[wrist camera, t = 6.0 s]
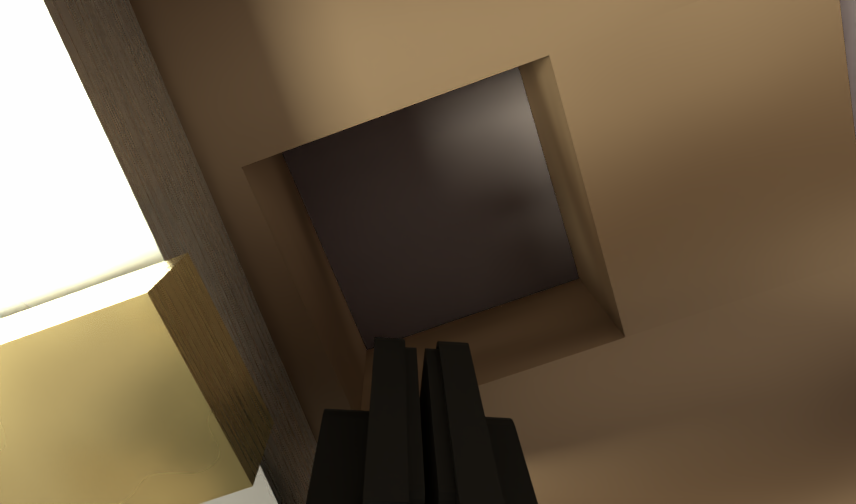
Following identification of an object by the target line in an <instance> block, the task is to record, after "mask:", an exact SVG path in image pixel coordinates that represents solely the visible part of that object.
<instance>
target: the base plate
mask: <svg viewBox="0 0 856 504" xmlns="http://www.w3.org/2000/svg"><path fill="white" fill-rule="evenodd" d="M129 2H130V4H131V7H132V9H133V12H134V14H135V16H136V19H137V21H138V23H139V26H140V28H141V30H142V33H143V35H144V37H145V40H146V42H147V45H148V47H149V49H150V52H151V54H152V56H153V59H154V61H155V63H156V66H157V68H158V71H159V73H160V75H161V78H162V80H163V82H164V85H165V87H166V89H167V92H168V94H169V96H170V99H171V101H172V104H173V106H174V108H175V111H176V113H177V115H178V118H179V120H180V122H181V125H182V127H183V130H184V132H185V134H186V137H187V139H188V141H189V144H190V146H191V148H192V151H193V153H194V155H195V158H196V160H197V163H198V165H199V167H200V170H201V172H202V174H203V177H204V179H205V181H206V184H207V186H208V189H209V191H210V193H211V196H212V198H213V200H214V203H215V205H216V207H217V210H218V212H219V214H220V217H221V219H222V222H223V224H224V226H225V229H226V231H227V233H228V236H229V238H230V240H231V243H232V245H233V248H234V250H235V252H236V255H237V257H238V259H239V262H240V264H241V266H242V269H243V271H244V273H245V276H246V278H247V281H248V283H249V285H250V288H251V290H252V292H253V295H254V297H255V299H256V302H257V304H258V307H259V309H260V311H261V314H262V316H263V318H264V321H265V323H266V325H267V328H268V330H269V332H270V335H271V337H272V340H273V342H274V344H275V347H276V349H277V351H278V354H279V356H280V358H281V361H282V363H283V366H284V368H285V370H286V373H287V375H288V377H289V380H290V382H291V384H292V387H293V389H294V391H295V394H296V396H297V399H298V401H299V403H300V406H301V408H302V410H303V413H304V415H305V417H306V420H307V422H308V425H309V427H310V429H311V432H312V434H313V436H314V439H315V441H316V443H317V442H318V437H319V432H320V426H321V421H322V416H323V412H324V409H343V410H363V411H369V409H370V395H371V381H372V367H373V354H374V348H372V349H369V350H366V347H365V345H364V343H363V340H362V338H361V336H360V333H359V331H358V329H357V326H356V324H355V322H354V320H353V317H352V315H351V313H350V310H349V308H348V306H347V303H346V301H345V299H344V296H343V294H342V292H341V289H340V287H339V285H338V282H337V280H336V278H335V275H334V273H333V271H332V268H331V266H330V264H329V261H328V259H327V257H326V254H325V252H324V250H323V247H322V245H321V243H320V241H319V238H318V236H317V234H316V231H315V229H314V227H313V224H312V222H311V220H310V217H309V215H308V213H307V210H306V208H305V206H304V203H303V201H302V199H301V196H300V194H299V192H298V189H297V187H296V185H295V182H294V180H293V178H292V175H291V173H290V171H289V169H288V166H287V164H286V162H285V159H284V157H283V155H282V152H284V151H287V150H290V149H292V148H295V147H298V146H301V145H303V144H306V143H309V142H312V141H314V140H317V139H320V138H323V137H325V136H328V135H331V134H334V133H336V132H339V131H342V130H345V129H347V128H350V127H353V126H356V125H358V124H361V123H364V122H367V121H369V120H372V119H375V118H378V117H380V116H383V115H386V114H389V113H391V112H394V111H397V110H400V109H402V108H405V107H408V106H411V105H413V104H416V103H419V102H422V101H424V100H427V99H430V98H433V97H435V96H438V95H441V94H444V93H446V92H449V91H452V90H455V89H457V88H460V87H463V86H466V85H468V84H471V83H474V82H477V81H479V80H482V79H485V78H488V77H490V76H493V75H496V74H499V73H501V72H504V71H507V70H510V69H512V68H515V67H518V66H519V70H520V73H521V77H522V80H523V84H524V87H525V91H526V94H527V98H528V101H529V105H530V108H531V112H532V115H533V118H534V122H535V125H536V129H537V132H538V136H539V139H540V143H541V146H542V150H543V153H544V157H545V160H546V164H547V167H548V171H549V174H550V178H551V181H552V185H553V188H554V192H555V195H556V199H557V202H558V205H559V209H560V212H561V216H562V219H563V223H564V226H565V230H566V233H567V237H568V240H569V244H570V247H571V251H572V254H573V258H574V261H575V265H576V268H577V272H578V275H579V279H576V280H573V281H570V282H567V283H564V284H561V285H558V286H555V287H552V288H549V289H547V290H544V291H541V292H538V293H535V294H532V295H529V296H526V297H523V298H520V299H517V300H514V301H511V302H508V303H505V304H502V305H499V306H496V307H493V308H490V309H487V310H484V311H481V312H478V313H475V314H473V315H470V316H467V317H464V318H461V319H458V320H455V321H452V322H449V323H446V324H443V325H440V326H437V327H434V328H431V329H428V330H425V331H422V332H419V333H416V334H413V335H410V336H407V337H404V338H402V339H405V347H413V348H417V363H418V380H419V397H420V390H421V380H422V370H423V361H424V352H425V348H430V349H436V345H437V341H447V342H464V343H468V344H469V347H470V352H471V356H472V361H473V365H474V369H475V374H476V378H477V383H478V387H479V392H480V396H481V401H482V405H483V410H484V414H485V417H501V418H511V419H512V420H513V422H514V424H515V427H516V431H517V434H518V437H519V441H520V444H521V448H522V451H523V454H524V458H525V461H526V464H527V468H528V471H529V475H530V478H531V481H532V485H533V488H534V492H535V495H536V498H537V502H538V504H856V138H855V130H854V121H853V112H852V104H851V95H850V86H849V78H848V69H847V60H846V52H845V43H844V35H843V26H842V17H841V9H840V0H129Z"/></svg>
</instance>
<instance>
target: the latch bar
mask: <svg viewBox="0 0 856 504" xmlns="http://www.w3.org/2000/svg"><path fill="white" fill-rule="evenodd" d="M185 253H188V254H189V255H190V257H191V259H192V261H193V263H194V265H195V267H196V269H197V271H198V273H199V275H200V277H201V279H202V281H203V283H204V285H205V287H206V289H207V291H208V293H209V295H210V297H211V299H212V301H213V303H214V305H215V307H216V308H217V310H218V312H219V314H220V316H221V318H222V320H223V322H224V324H225V326H226V328H227V330H228V332H229V334H230V336H231V338H232V340H233V342H234V344H235V346H236V348H237V350H238V352H239V354H240V356H241V358H242V360H243V361H244V363H245V365H246V367H247V369H248V371H249V373H250V375H251V377H252V379H253V381H254V383H255V385H256V387H257V389H258V391H259V393H260V395H261V397H262V399H263V401H264V403H265V405H266V407H267V409H268V411H269V412H270V414H271V416H272V418H273V420H274V424H273V427H272V430H271V433H270V436H269V439H268V442H267V445H266V448H265V451H264V454H263V457H262V460H261V463H260V466H259V469H258V472H257V475H256V478H255V481H254V484H253V486H252V487H249V488H246V489H243V490H240V491H237V492H234V493H231V494H228V495H225V496H222V497H219V498H216V499H213V500H210V501H207V502H204V503H200V504H306V499H307V494H308V489H309V484H310V478H311V473H312V468H313V463H314V458H315V452H316V447H317V443H316V441H315V439H314V436H313V434H312V432H311V429H310V427H309V425H308V422H307V420H306V417H305V415H304V413H303V410H302V408H301V406H300V403H299V401H298V399H297V396H296V394H295V391H294V389H293V387H292V384H291V382H290V380H289V377H288V375H287V373H286V370H285V368H284V366H283V363H282V361H281V358H280V356H279V354H278V351H277V349H276V347H275V344H274V342H273V340H272V337H271V335H270V332H269V330H268V328H267V325H266V323H265V321H264V318H263V316H262V314H261V311H260V309H259V307H258V304H257V302H256V299H255V297H254V295H253V292H252V290H251V288H250V285H249V283H248V281H247V278H246V276H245V273H244V271H243V269H242V266H241V264H240V262H239V259H238V257H237V255H236V252H235V250H234V248H233V245H232V243H231V240H230V238H229V236H228V233H227V231H226V229H225V226H224V224H223V222H222V219H221V217H220V214H219V212H218V210H217V207H216V205H215V203H214V200H213V198H212V196H211V193H210V191H209V189H208V186H207V184H206V181H205V179H204V177H203V174H202V172H201V170H200V167H199V165H198V163H197V160H196V158H195V155H194V153H193V151H192V148H191V146H190V144H189V141H188V139H187V137H186V134H185V132H184V130H183V127H182V125H181V122H180V120H179V118H178V115H177V113H176V111H175V108H174V106H173V104H172V101H171V99H170V96H169V94H168V92H167V89H166V87H165V85H164V82H163V80H162V78H161V75H160V73H159V71H158V68H157V66H156V63H155V61H154V59H153V56H152V54H151V52H150V49H149V47H148V45H147V42H146V40H145V37H144V35H143V33H142V30H141V28H140V26H139V23H138V21H137V19H136V16H135V14H134V12H133V9H132V7H131V4H130V2H129V0H0V319H3V318H5V317H8V316H11V315H14V314H17V313H19V312H22V311H25V310H28V309H31V308H33V307H36V306H39V305H42V304H45V303H47V302H50V301H53V300H56V299H59V298H62V297H64V296H67V295H70V294H73V293H76V292H78V291H81V290H84V289H87V288H90V287H92V286H95V285H98V284H101V283H104V282H106V281H109V280H112V279H115V278H118V277H120V276H123V275H126V274H129V273H132V272H135V271H137V270H140V269H143V268H146V267H149V266H151V265H154V264H157V263H160V262H163V261H165V260H168V259H171V258H174V257H177V256H179V255H182V254H185Z"/></svg>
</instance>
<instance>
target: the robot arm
mask: <svg viewBox="0 0 856 504" xmlns="http://www.w3.org/2000/svg"><path fill="white" fill-rule="evenodd" d="M306 504H538V502H537V498H536V495H535V492H534V488H533V485H532V481H531V478H530V475H529V471H528V468H527V464H526V461H525V458H524V454H523V451H522V448H521V444H520V441H519V437H518V434H517V431H516V427H515V424H514V422H513V420H512V419H511V418H501V417H485V414H484V410H483V405H482V401H481V396H480V392H479V387H478V383H477V378H476V374H475V369H474V365H473V361H472V356H471V352H470V347H469V344H468V343H464V342H447V341H437V345H436V349H430V348H425V352H424V361H423V370H422V380H421V390H420V397H419V380H418V363H417V348H413V347H405V339H397V338H380V337H375V340H374V354H373V367H372V381H371V395H370V409H369V411H363V410H343V409H324V412H323V416H322V421H321V426H320V432H319V437H318V442H317V447H316V452H315V458H314V463H313V468H312V473H311V478H310V484H309V489H308V494H307V499H306Z"/></svg>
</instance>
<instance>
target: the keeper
mask: <svg viewBox="0 0 856 504" xmlns="http://www.w3.org/2000/svg"><path fill="white" fill-rule="evenodd" d="M273 424H274V420H273V418H272V416H271V414H270V412H269V411H268V409H267V407H266V405H265V403H264V401H263V399H262V397H261V395H260V393H259V391H258V389H257V387H256V385H255V383H254V381H253V379H252V377H251V375H250V373H249V371H248V369H247V367H246V365H245V363H244V361H243V360H242V358H241V356H240V354H239V352H238V350H237V348H236V346H235V344H234V342H233V340H232V338H231V336H230V334H229V332H228V330H227V328H226V326H225V324H224V322H223V320H222V318H221V316H220V314H219V312H218V310H217V308H216V307H215V305H214V303H213V301H212V299H211V297H210V295H209V293H208V291H207V289H206V287H205V285H204V283H203V281H202V279H201V277H200V275H199V273H198V271H197V269H196V267H195V265H194V263H193V261H192V259H191V257H190V255H189V254H188V253H185V254H182V255H179V256H177V257H174V258H171V259H168V260H165V261H163V262H160V263H157V264H154V265H151V266H149V267H146V268H143V269H140V270H137V271H135V272H132V273H129V274H126V275H123V276H120V277H118V278H115V279H112V280H109V281H106V282H104V283H101V284H98V285H95V286H92V287H90V288H87V289H84V290H81V291H78V292H76V293H73V294H70V295H67V296H64V297H62V298H59V299H56V300H53V301H50V302H47V303H45V304H42V305H39V306H36V307H33V308H31V309H28V310H25V311H22V312H19V313H17V314H14V315H11V316H8V317H5V318H3V319H0V504H200V503H204V502H207V501H210V500H213V499H216V498H219V497H222V496H225V495H228V494H231V493H234V492H237V491H240V490H243V489H246V488H249V487H252V486H253V484H254V481H255V478H256V475H257V472H258V469H259V466H260V463H261V460H262V457H263V454H264V451H265V448H266V445H267V442H268V439H269V436H270V433H271V430H272V427H273Z"/></svg>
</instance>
